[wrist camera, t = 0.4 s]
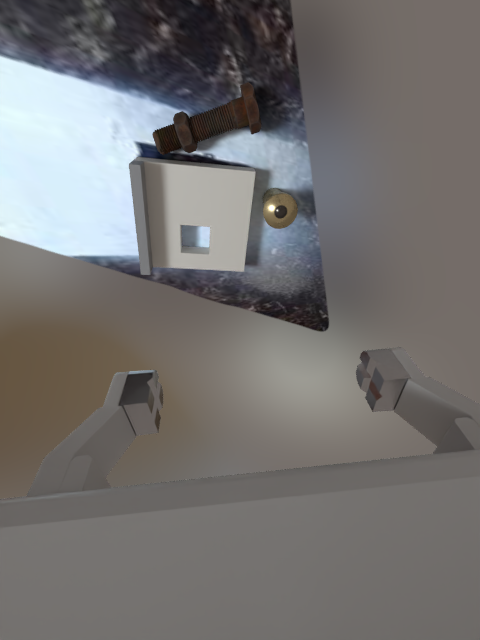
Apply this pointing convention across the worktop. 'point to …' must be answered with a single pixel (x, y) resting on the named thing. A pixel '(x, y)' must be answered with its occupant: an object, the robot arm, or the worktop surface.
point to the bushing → (279, 208)
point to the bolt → (209, 123)
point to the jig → (191, 213)
